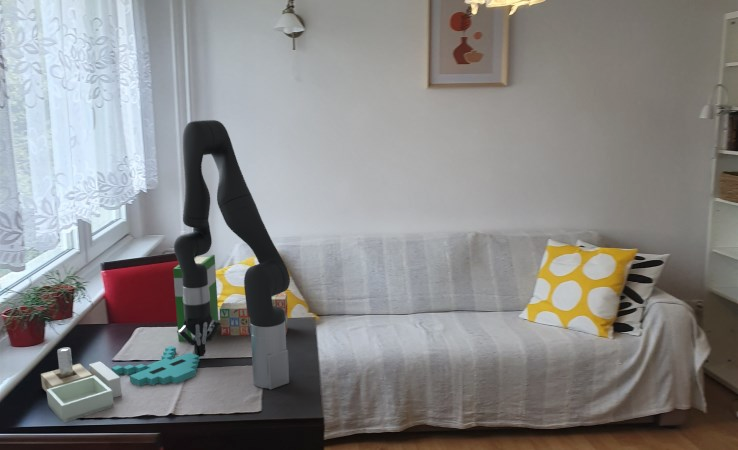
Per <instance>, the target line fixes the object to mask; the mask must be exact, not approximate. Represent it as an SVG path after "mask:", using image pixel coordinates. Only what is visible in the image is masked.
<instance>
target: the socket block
mask: <svg viewBox="0 0 738 450" xmlns="http://www.w3.org/2000/svg"><path fill="white" fill-rule="evenodd" d="M72 367H73V376H70V377H67V378H63V379H60V371H59V368H58V369H55V370H51V371H47V372H43V373H40V378H41V379H40V381H41V388H42V389H43V390H44V391H45V392H46V393H47V389H50V388H53V387H57V386H60V385H64V384H67V383H71V382H74V381H78V380H81V379H85V378H88V377H91V376H92V374H91V373H90V370H88V369H86V368H85V367H84V366H83V365H82V364H81V363H76V364H72Z"/></svg>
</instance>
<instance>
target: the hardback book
mask: <svg viewBox="0 0 738 450" xmlns="http://www.w3.org/2000/svg"><path fill="white" fill-rule="evenodd" d="M215 258H216V256H215V254H211V255H210V256H209V257H208V256H196V257H194V260H195V262H196V263H199V264H203V265H205V266H206V268H207V276H208V287H209V293H210V308H211V314H210V315H211V317H212V320H215V321H217V322H219V321H220V320H219V319H220V317H219V308H218V307H219V304H218V302H219V301H218V292H217V291H218V290H217V289H218V286H217V274H216V272H217V271H216V259H215ZM172 273H173V283H174V284H173V285H174V297H175V299H174V300H175V311H176V324H177V327H176V328H177V330H178V329H181V328H182V327H183V326H184V321H185V316H184V304H183V278H182V271H181V268H180V266H179V264H178V265H176V266H175V267H174V268H173V269H172ZM219 323H220V322H219ZM208 328H209V327H208ZM207 330H208V329H207ZM187 332H188V333H187V335H188V336H189V337H190V338H191V339H192V340H193V338H192V335H191V333H190V332H189V330H188V329H187ZM177 337H178V338H177V339H178V342H179V343H180V342H183V343H184V342H186V343H188V342H187V341H186V340H185V339H184V338H182V337H181V336H180V335H179V334H178V333H177Z"/></svg>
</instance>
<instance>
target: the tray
mask: <svg viewBox="0 0 738 450" xmlns="http://www.w3.org/2000/svg"><path fill="white" fill-rule="evenodd" d="M46 396H47V405H48V407H49V408H50V409H51V410H52V412H54V414H55V416H57V417H58V418H59V419H60V421H61V422H62V423H64V424H65V423H68V422H71V421H73V420H74V421H75V420H76V419H77V420H78V419H80V418H83V417H85V416H89V415H93V414H95V413H98V412H102V411H104V410H107V409H111V408H113V407H114V398H113V394H112V390H111V389H110V388H109V387H108V386H106V385H105V384H104V383H103V382H102V381H101V380H99V379H98V378H97V377H96V376H91V377H88V378H85V379H81V380H78V381H74V382H71V383H67V384H64V385H60V386H57V387H53V388H50V389H47V392H46Z"/></svg>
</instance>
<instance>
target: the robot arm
mask: <svg viewBox="0 0 738 450" xmlns="http://www.w3.org/2000/svg"><path fill="white" fill-rule="evenodd" d="M207 155H211V157H212V158H213V160H214V163H215V165H216V168H217V171H218V172H217V173H218V184H217V191H216V192H217V193H216V201H217V202H216V203H217V206H218V209H219V210H220V211H219V212H220V213H221V215H222V218H223V220H224V222H225V224H226V226H227V227H228V228H229V229H230V231H232V232H233V233H234V234H235V235H236V236H237V237H238V238H239V239H240V240H242V241H243V242H244V243H246V245H247V246H249V248H250V250H251V251H252V252H253V254H254V255H255V257H256V259H257V262H258V263H257V264H255V265H252V266H250V267H248V268H247V270H246V272H245V273H244V278H243V279H244V280H243V282H244V283H243V286H244V295H245V303H246V307H247V311H248V314H249V317H250V326H251V335H250V343H251V363H252V364H251V365H252V379H253V385H255V386H256V387H257V388H262V389H269V390H273V389H277V388H278V387H282V386H285V385H286V384H289V383H290V371H289V366H290V365H289V350H288V349H287V336H286V335H287V333H286V332H285V312H284V310H283V309H282V308H280V307H276V306H273V304H272V296H274V295H277V294H283V293H284V292H286V291H287V290H288V288H289V286H290V283H291V277H290V272H289V270H288V268H287V266H286V263H285V261H284V260H283V258H282V256H281V254H280V253H279V251H278V249H277V248H276V246H275V244H274V242H273V240H272V238H271V236H270V234H269V232H268V229H267V228H266V225H265V223H264V220H263V219H262V216H261V214H260V211H259V209H258V206H257V205H256V201H255V199H254V198H253V195H252V193H251V191H250V189H249V187H248V185H247V182H246V179H245V177H244V175H243V172H242V170H241V168H240V165H239V162H238V159H237V157H236V153H235V150H234V147H233V144H232V141H231V137H230V135H229V132H228V130H227V128H226V127H225V125H224V124H223V123H222V122H221V121H219V120H216V119H209V120H208V119H205V120H203V119H202V120H192V121H189V122H188V123H186V125H185V127H183V131H182V158H183V159H182V160H183V171H184V174H183V175H184V188H185V189H184V201H183V211H182V212H183V213H182V221H183V224H184V225H185V226H187V227H189V228H192V232H188V233H183V234H180V235H179V236H177V237H176V239H175V240H174V244H173V245H174V246H173V251H174V254H175V256H176V260H177V262H178V265H179V266H180V268H181V271H182V278H183V304H184V316H185V321H184V326H183V327H182V328H181V329H178V328H177V330H176V333H177V335H178V334H179V335H180V336H181V337H182V338H184V339H185V340H186V341H187V342H186V343H188V344H189V345H191V346H193V348H194V354H195V355H198V356H199V358H201V357H204V356H205V354H206V352H207V351H206V350H207V349H206V344H207V342H208V341H210V342H211V340H212V338H213V337H214V335H215V333H216V331H217V329H218V327H219V326H220V322H217V321H215V320H212V317H211V315H210V314H211V308H210V293H209V287H208V276H207V268H206V266H205V265H203V264H199V263H196V262H195V260H194V257H201V256H203V255H205V254H207V253H208V252H209V251H210V250H211V247H212V244H213V243H212V242H213V241H212V240H213V239H212V234H211V229H210V228H211V227H210V222H209V217H210V208H211V193H210V190H209V188H208V185H207V183H206V181H205V178H204V175H203V169H202V165H203V163H202V162H203V158H204V156H207ZM208 327H209V328H208ZM187 329H188V330H189V332H190V333H191V335H192V338H193V340H192V339H191V338H190V337H189V336H188V335H187V333H188V332H187ZM207 329H208V330H207Z"/></svg>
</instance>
